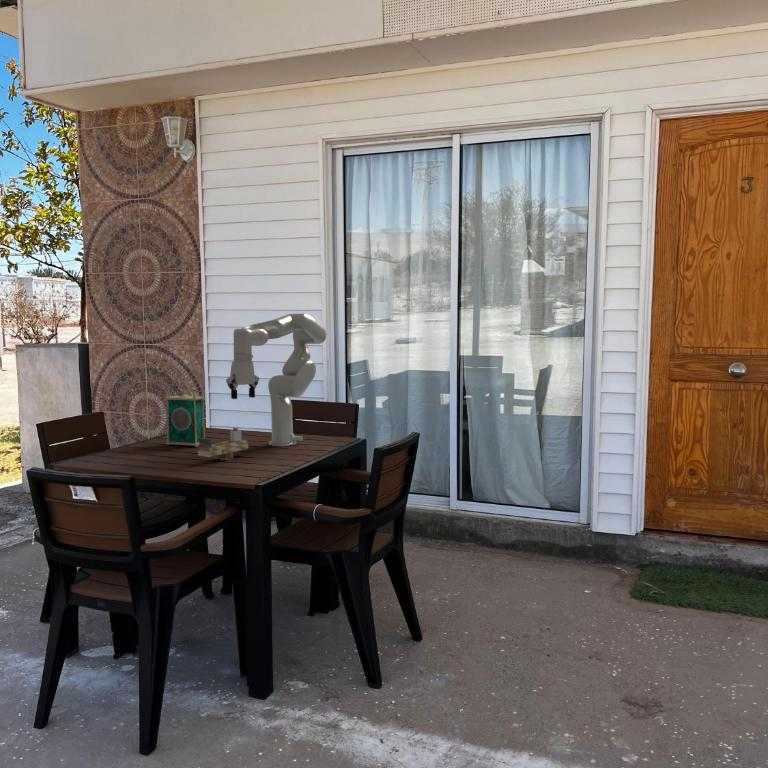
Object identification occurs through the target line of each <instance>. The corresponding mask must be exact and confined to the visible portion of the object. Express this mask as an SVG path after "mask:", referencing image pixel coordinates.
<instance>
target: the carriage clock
mask: <svg viewBox="0 0 768 768" xmlns="http://www.w3.org/2000/svg"><path fill="white" fill-rule="evenodd" d="M184 381H185V382H186V384H187V385H188V388H187V390H182V389H181V383H182V382H184ZM190 387H191V385H190V383H189V382H188V380H186V379H183V380H180V382H179V384H178V388H179V390H180V391H181V392H182V393H183V394H182V395H177V392H175V391H174V392H173V395H170V396H168V395H169V394H168V393H165V394H164V396H165V397H163V399H164V400H165V411H166V412H165V414H166V416H165V417H166V436H167V437H166V441H165V445H166V446H167V445H179V446H180V445H181V446H194V448H195V447H197V448H198V447H199V438H206V434H205V433H206V432H205V431H206V430H205V429H206V427H205V399H206V397H207V396H204V395H205V393H204V392H202V393H201V396H196V394H193V396H192V395H188V394H186V393H187V392H188V391H189V390H190Z"/></svg>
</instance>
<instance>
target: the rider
mask: <svg viewBox="0 0 768 768" xmlns="http://www.w3.org/2000/svg"><path fill="white" fill-rule="evenodd" d="M229 433H230V439H229V441H230V443H234V442H239V441H242V440H243V439H242V429H239V427H233V429H232V430H230V431H229Z"/></svg>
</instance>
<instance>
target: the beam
mask: <svg viewBox="0 0 768 768" xmlns="http://www.w3.org/2000/svg"><path fill="white" fill-rule="evenodd" d="M241 440H242V441H239V442H234V443H230V440H227V441H221V442H216V443H213V441H212V438H208V437H205V438H199V445H198V447H197V456H198V457H205V458H210V457H211V458H212V457H214V458H215V459H214V460H217V459H221V460H220V461H223V460H228V461H231V459H233V460H234V453H235V452H238V451H244V450H248V449H249V440H247V439H241Z"/></svg>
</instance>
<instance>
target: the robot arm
mask: <svg viewBox="0 0 768 768" xmlns="http://www.w3.org/2000/svg"><path fill="white" fill-rule="evenodd" d="M290 334H292V341H293V351H292V353H291V354H290V355H289V357H288V358H287V360H286V361H285V363H284V365H283V366H282V370H281V373H282V374H280V375H279V374H277V375H274V376H272V377H271V378H270V379H269V381H268V383H267V386H268V387H267V388H268V393H269V397H270V405H271V406H270V408H271V409H270V413H271V416H270V417H271V418H270V419H271V420H270V421H271V440H270V441H268V445H269V446H271V445H272V446H271V447H291V446H295V445H297V441H303V436H302V435H295V433H294V429H293V424H294V423H293V404H292V400H291V398H299V397H301V396H303V394H304V393H305V392H306V391H307V389H308V388H309V386H310V384H311V383H312V382H313V380H314V379H315V376H316V371H317V368H316V367H317V366H316V364H315V362H314V361H313V360H311V352H310V349H309V345H320V344H323V343H324V342H325V341H326V339H327V331H326V329H325V328H324V327H323V325H322V324H320V323H319V322H318V321H317V320H316V319H315V318H314V317H313V316H311V315H310V314H307V313H289V314H285V315H282V316H280V317H277V318H275V319H271V320H266V321H262V322H258V323H253V324H251V325H247V326H244V327H242V328H236V329H234V330H233V360H232V361H231V365H230V366H231V367H230V376H229V377H227V378H226V379H225V381H226V385H227V386H228V388H229V389H230V396H231V397H230V398H231V400H238V390H237V388H238V386H242V385H248V386H249V388H248V397H249V398H256V389H257V385H259V381H260V377H259V376H257V375H256V374H255V367H254V361H253V358H254V355H253V351H252V350H253V348H252V346H253V347H258V346H259V347H260V346H264V345H265V344H267V343H268V341H269V340H276V339H281V338H282V337H285V336H288V335H290ZM290 445H291V446H290Z"/></svg>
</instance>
